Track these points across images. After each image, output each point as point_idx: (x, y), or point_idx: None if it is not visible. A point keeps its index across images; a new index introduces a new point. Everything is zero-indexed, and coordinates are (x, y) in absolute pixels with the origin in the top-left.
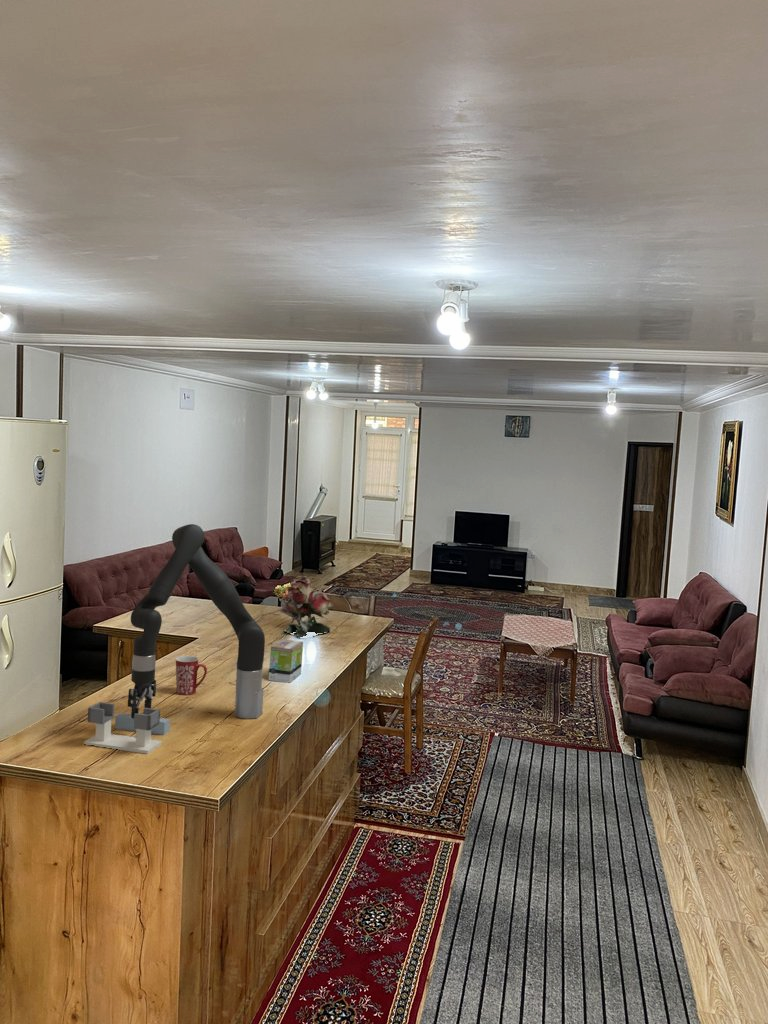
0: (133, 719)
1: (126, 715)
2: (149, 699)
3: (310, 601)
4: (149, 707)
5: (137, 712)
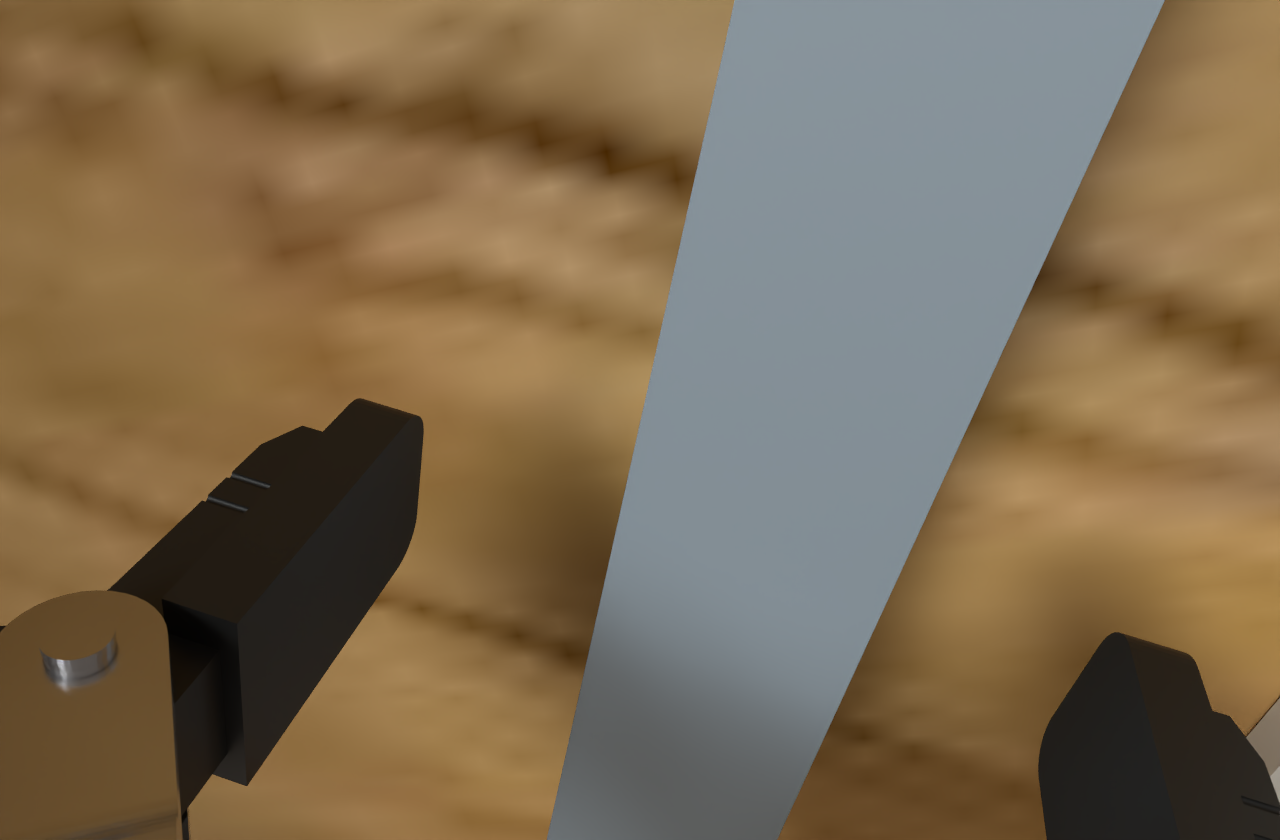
0: (860, 646)
1: (676, 787)
2: (187, 695)
3: None
4: (368, 490)
5: (1244, 815)
